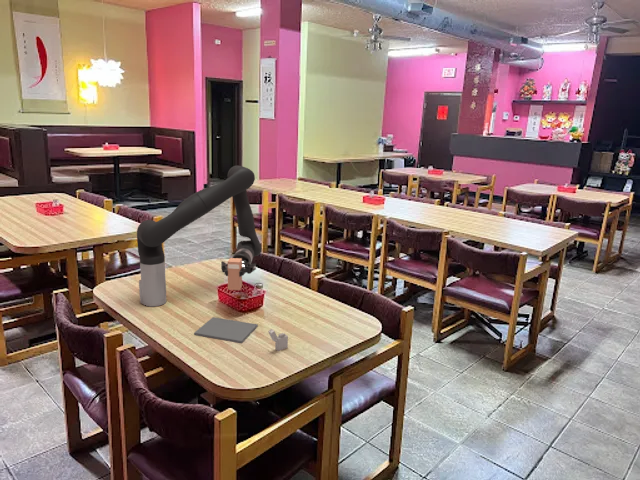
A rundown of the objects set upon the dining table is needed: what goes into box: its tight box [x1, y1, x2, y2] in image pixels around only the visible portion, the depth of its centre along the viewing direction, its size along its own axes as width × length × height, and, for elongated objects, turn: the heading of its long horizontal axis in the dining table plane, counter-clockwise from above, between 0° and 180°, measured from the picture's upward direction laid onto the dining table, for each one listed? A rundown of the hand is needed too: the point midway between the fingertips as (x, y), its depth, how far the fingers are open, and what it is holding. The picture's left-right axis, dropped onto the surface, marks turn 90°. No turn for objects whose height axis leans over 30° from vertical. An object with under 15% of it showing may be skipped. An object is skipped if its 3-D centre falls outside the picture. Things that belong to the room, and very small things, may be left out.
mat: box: [194, 316, 259, 344], centre depth 173 cm, size 18×14×1 cm
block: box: [227, 257, 243, 291], centre depth 182 cm, size 4×5×11 cm
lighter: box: [267, 328, 289, 352], centre depth 160 cm, size 7×2×8 cm, turn 132°
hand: (233, 273), depth 179 cm, fingers closed on block, 4 cm apart
